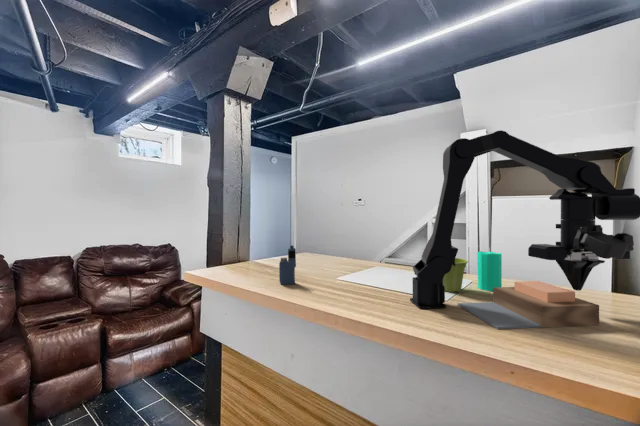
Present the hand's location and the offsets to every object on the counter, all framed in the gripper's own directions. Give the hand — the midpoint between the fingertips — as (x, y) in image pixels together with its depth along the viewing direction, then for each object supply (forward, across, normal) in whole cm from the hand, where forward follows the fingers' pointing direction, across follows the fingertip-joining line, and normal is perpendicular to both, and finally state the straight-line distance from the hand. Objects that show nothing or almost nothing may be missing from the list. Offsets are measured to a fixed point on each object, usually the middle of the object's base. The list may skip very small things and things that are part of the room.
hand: (577, 290), depth 63 cm
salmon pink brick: (+1, -8, 0) cm, 8 cm away
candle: (+5, -7, +20) cm, 22 cm away
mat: (+5, -19, 0) cm, 20 cm away
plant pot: (+5, -19, +20) cm, 28 cm away
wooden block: (+5, -9, 0) cm, 10 cm away
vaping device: (+5, -66, +31) cm, 73 cm away
